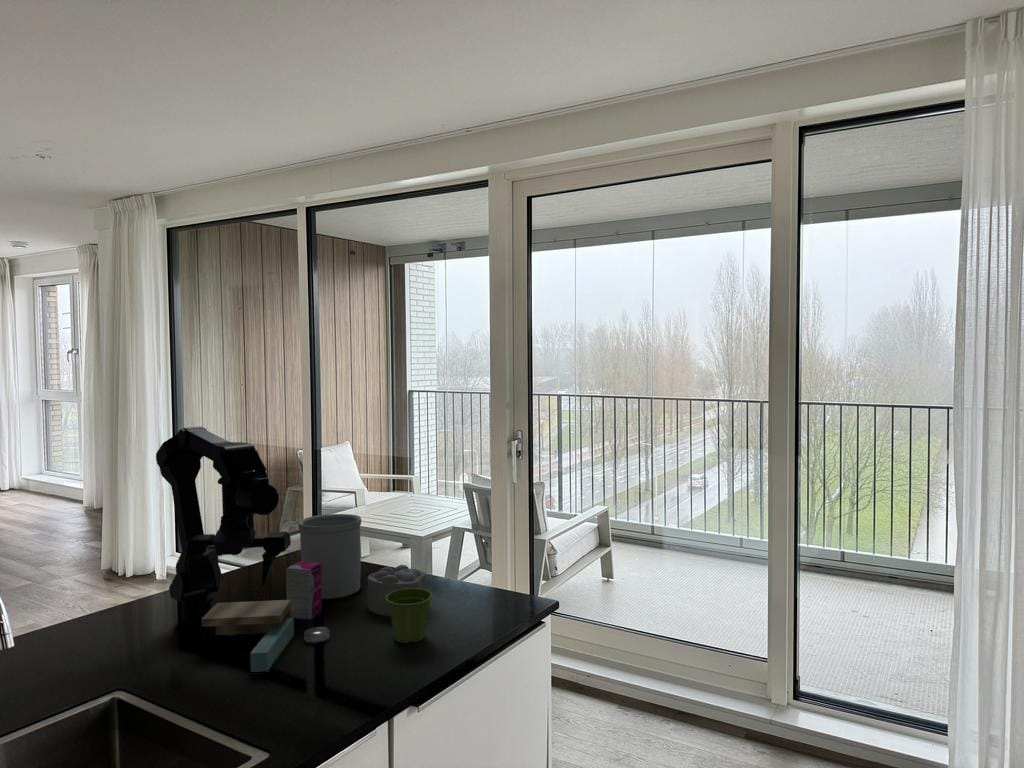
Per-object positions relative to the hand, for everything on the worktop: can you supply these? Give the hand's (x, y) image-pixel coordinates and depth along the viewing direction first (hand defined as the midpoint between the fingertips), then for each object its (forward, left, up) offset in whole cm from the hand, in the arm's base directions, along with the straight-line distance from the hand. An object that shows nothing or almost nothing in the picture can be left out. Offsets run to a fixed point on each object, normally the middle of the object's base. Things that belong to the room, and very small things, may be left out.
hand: (240, 586), depth 138 cm
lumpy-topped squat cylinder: (+29, +18, -12) cm, 36 cm away
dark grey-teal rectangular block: (+7, -4, -12) cm, 15 cm away
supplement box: (+9, +15, -12) cm, 21 cm away
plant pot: (+33, 0, -12) cm, 35 cm away
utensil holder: (+12, +32, -12) cm, 36 cm away
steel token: (+14, +2, -12) cm, 19 cm away
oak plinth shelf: (0, +2, -12) cm, 12 cm away
